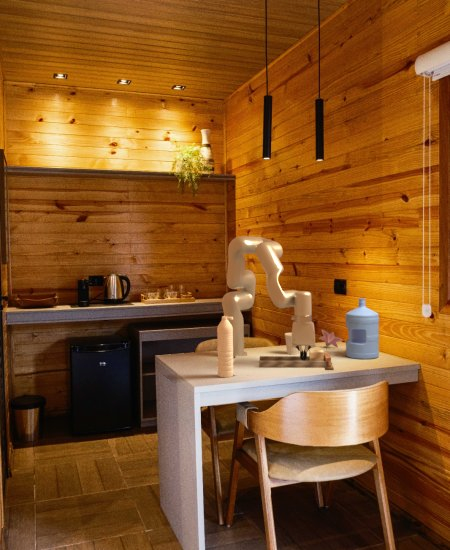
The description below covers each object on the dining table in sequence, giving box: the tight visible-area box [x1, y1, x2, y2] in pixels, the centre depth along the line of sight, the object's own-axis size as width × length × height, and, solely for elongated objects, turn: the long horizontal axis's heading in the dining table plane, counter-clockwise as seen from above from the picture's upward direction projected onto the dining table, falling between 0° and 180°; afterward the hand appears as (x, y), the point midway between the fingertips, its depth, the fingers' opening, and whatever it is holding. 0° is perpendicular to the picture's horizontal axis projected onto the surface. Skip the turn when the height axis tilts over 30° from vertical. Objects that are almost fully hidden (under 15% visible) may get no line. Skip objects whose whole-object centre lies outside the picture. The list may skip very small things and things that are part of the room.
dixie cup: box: [284, 332, 300, 356], centre depth 281 cm, size 8×8×10 cm
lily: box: [318, 329, 343, 349], centre depth 295 cm, size 12×12×10 cm
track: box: [258, 352, 334, 371], centre depth 250 cm, size 32×14×5 cm, turn 85°
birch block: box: [308, 349, 325, 361], centre depth 249 cm, size 6×6×6 cm
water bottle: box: [216, 315, 234, 378], centre depth 232 cm, size 9×6×25 cm
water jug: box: [345, 297, 380, 360], centre depth 271 cm, size 16×16×28 cm
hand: (303, 360), depth 250 cm, fingers closed
